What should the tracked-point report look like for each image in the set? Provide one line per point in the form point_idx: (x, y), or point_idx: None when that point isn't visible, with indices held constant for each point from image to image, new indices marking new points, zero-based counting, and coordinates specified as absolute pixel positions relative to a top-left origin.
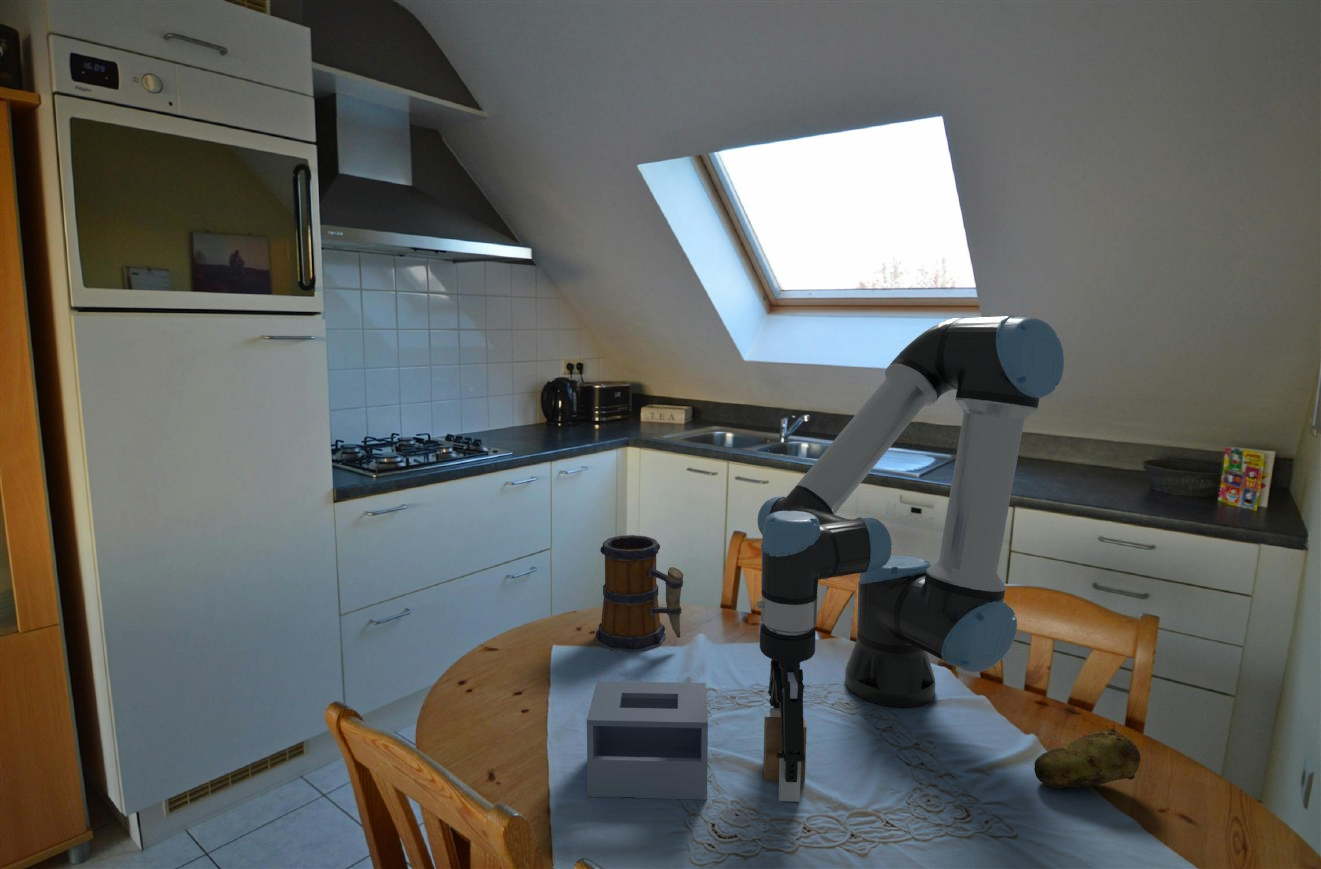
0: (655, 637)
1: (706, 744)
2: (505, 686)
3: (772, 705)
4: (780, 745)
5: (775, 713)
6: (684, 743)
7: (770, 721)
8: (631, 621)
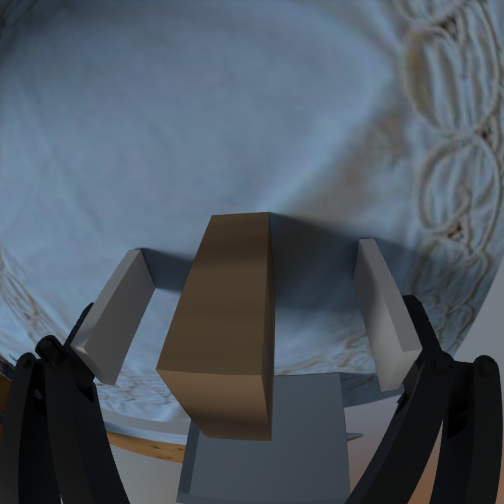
0: (6, 371)
1: (348, 466)
2: (151, 449)
3: (94, 385)
4: (271, 358)
5: (109, 367)
6: None
7: (233, 433)
8: None
